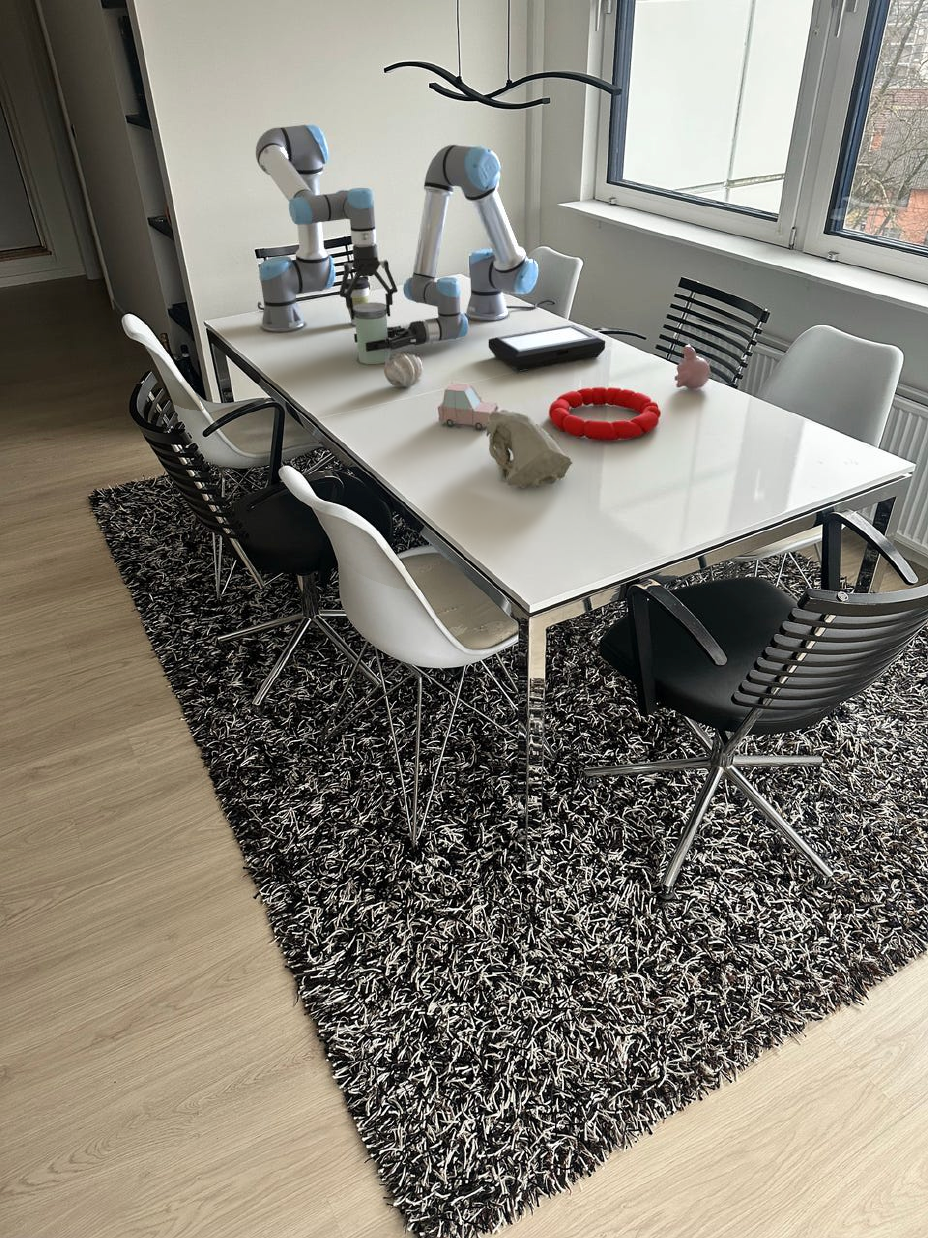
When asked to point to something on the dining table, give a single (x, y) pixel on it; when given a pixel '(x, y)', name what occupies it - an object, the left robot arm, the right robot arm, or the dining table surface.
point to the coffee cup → (359, 293)
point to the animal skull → (525, 450)
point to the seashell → (403, 369)
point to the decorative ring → (604, 428)
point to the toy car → (465, 406)
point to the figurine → (692, 370)
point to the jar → (371, 338)
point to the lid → (370, 310)
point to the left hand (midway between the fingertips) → (370, 316)
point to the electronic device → (546, 347)
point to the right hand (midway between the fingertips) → (360, 342)
